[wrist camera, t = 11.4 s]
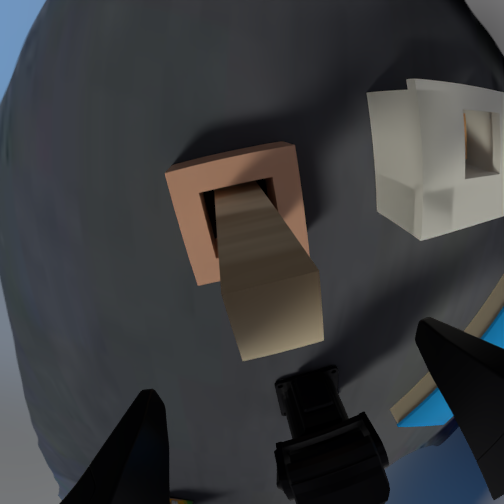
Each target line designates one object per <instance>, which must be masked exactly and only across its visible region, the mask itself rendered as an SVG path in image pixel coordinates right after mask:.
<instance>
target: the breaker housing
mask: <svg viewBox="0 0 504 504" xmlns="http://www.w3.org/2000/svg"><path fill="white" fill-rule="evenodd" d="M406 82H407V89H408V90H391V91H377V92H366V94H367V100H368V107H369V115H370V123H371V131H372V141H373V151H374V163H375V178H376V199H377V212H379V213H380V214H382V215H383V216H385V217H386V218H388V219H390V220H391V221H393V222H394V223H396V224H397V225H399V226H400V227H401V228H403V229H404V230H406V231H407V232H409V233H410V234H412V235H413V236H414V237H416V238H417V239H419V240H420V241H423V240H426V239H430V238H433V237H436V236H440V235H443V234H447V233H450V232H453V231H457V230H460V229H463V228H467V227H470V226H473V225H477V224H480V223H483V222H486V221H489V220H493V219H496V218H499V217H502V216H504V92H499V91H495V90H491V89H486V88H481V87H476V86H470V85H464V84H458V83H451V82H444V81H435V80H426V79H406ZM463 113H464V114H465V118H466V134H467V159H465V132H464V117H463Z"/></svg>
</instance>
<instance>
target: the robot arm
mask: <svg viewBox="0 0 504 504" xmlns="http://www.w3.org/2000/svg"><path fill="white" fill-rule="evenodd" d="M415 341H416V344H417V346H418V348H419V351H420V353H421V355H422V357H423V359H424V361H425V363H426V366H427V368H428V370H429V372H430V374H431V376H432V378H433V380H434V382H435V383H436V385H437V387H438V389H439V390H440V392H441V394H442V396H443V397H444V399H445V401H446V403H447V404H448V406H449V408H450V410H451V412H452V414H453V415H454V417H455V419H456V421H457V423H458V425H459V427H460V429H461V431H462V432H463V434H464V436H465V438H466V440H467V442H468V444H469V446H470V448H471V450H472V453H473V454H474V457H475V459H476V460H477V463H478V466H479V468H480V470H481V472H482V474H483V477H484V479H485V481H486V484H487V486H488V488H489V491H490V493H491V496H492V498H493V499H494V500H495V499H497V498H499V497H500V496H502V495H504V349H503V348H501V347H499V346H496V345H494V344H492V343H489V342H487V341H485V340H482V339H480V338H478V337H475V336H473V335H471V334H469V333H466V332H464V331H462V330H459V329H457V328H455V327H452V326H450V325H448V324H445V323H443V322H441V321H438V320H436V319H434V318H431V317H427V318H424V319H422V320H420V321H419V323H418V327H417V332H416V336H415ZM275 389H276V393H277V397H278V402H279V406H280V410H281V414H282V415H283V416H287V420H288V424H289V428H290V431H291V435H292V439H291V440H288V441H284V442H278V443H276V448H277V449H276V450H275V451H274V454H275V458H276V463H277V487H278V488H279V489H281V490H283V491H284V493H285V494H286V496H287V497H288V499H289V500H290V501H292V500H295V501H296V504H385V502H386V501H387V500H388V497H389V491H390V487H389V482H388V479H387V476H386V473H385V470H384V468H385V467H388V466H389V462H388V457H387V454H386V451H385V448H384V446H383V443H382V441H381V439H380V437H379V436H378V434H377V432H376V431H375V429H374V427H373V425H372V424H371V422H370V420H369V419H368V417H367V415H366V414H365V412H362V413H359V415H357V416H354V417H352V418H350V419H349V418H348V415H347V413H346V411H345V408H344V406H343V404H342V401H341V399H340V397H339V395H338V368H337V366H331V367H327V368H324V369H321V370H317V371H314V372H310V373H307V374H303V375H299V376H296V377H292V378H288V379H284V380H280V381H277V382H276V383H275ZM60 504H170V491H169V441H168V432H167V421H166V410H165V405H164V403H163V401H162V400H161V398H160V397H159V395H158V394H157V392H156V391H155V390H154V389H145V390H142V391H141V392H140V393H139V394H138V396H137V397H136V399H135V400H134V402H133V403H132V404H131V406H130V407H129V409H128V410H127V412H126V413H125V414H124V416H123V417H122V419H121V420H120V422H119V423H118V425H117V426H116V427H115V429H114V430H113V432H112V433H111V435H110V436H109V437H108V439H107V440H106V442H105V443H104V445H103V446H102V448H101V449H100V451H99V452H98V453H97V455H96V456H95V458H94V459H93V461H92V462H91V464H90V465H89V467H88V468H87V469H86V471H85V472H84V474H83V475H82V476H81V478H80V479H79V481H78V482H77V483H76V485H75V486H74V487H73V488H72V490H71V491H70V492H69V493H68V494H67V496H66V497H65V498H64V499H63V500H62V502H61V503H60Z"/></svg>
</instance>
